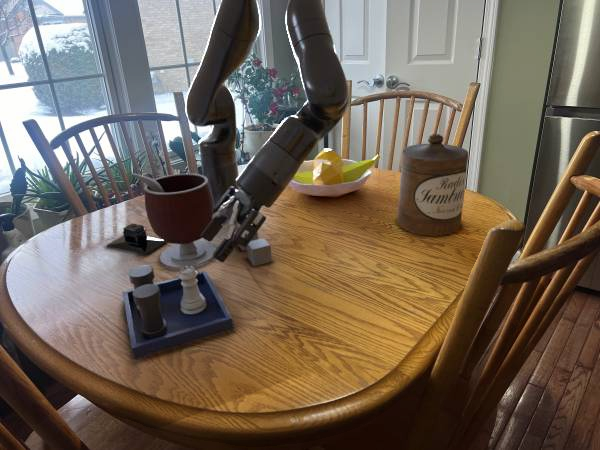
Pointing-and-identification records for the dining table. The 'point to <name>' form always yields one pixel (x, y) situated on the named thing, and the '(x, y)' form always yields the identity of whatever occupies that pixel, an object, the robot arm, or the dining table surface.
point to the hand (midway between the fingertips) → (211, 248)
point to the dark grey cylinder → (150, 311)
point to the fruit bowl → (331, 175)
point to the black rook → (141, 277)
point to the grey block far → (251, 240)
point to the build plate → (136, 240)
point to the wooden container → (432, 187)
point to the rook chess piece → (191, 292)
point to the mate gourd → (180, 216)
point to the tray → (178, 317)
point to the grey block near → (259, 252)
